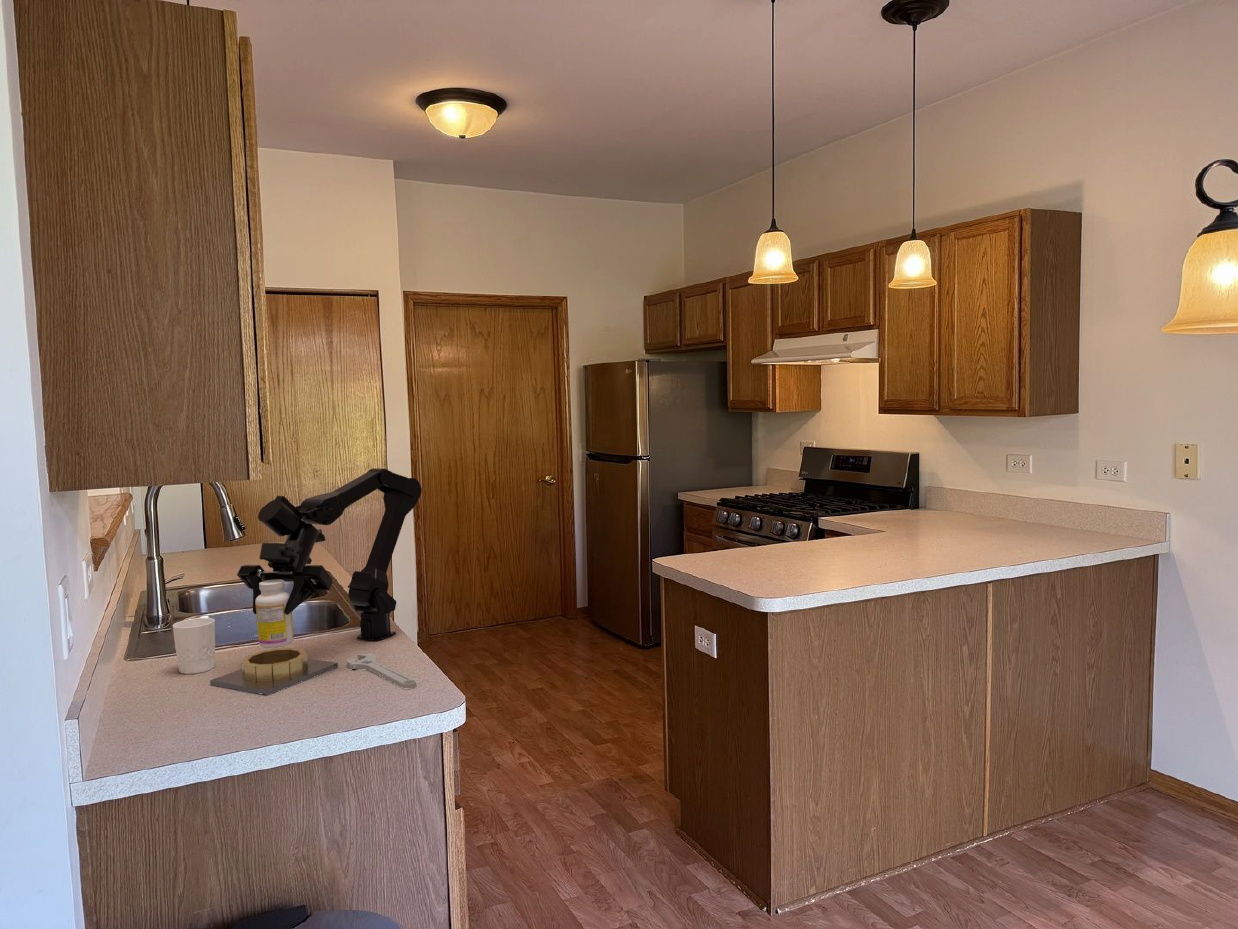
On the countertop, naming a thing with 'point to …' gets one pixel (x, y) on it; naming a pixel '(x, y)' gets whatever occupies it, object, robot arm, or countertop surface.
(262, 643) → the supplement bottle
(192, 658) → the white cup
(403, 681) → the adjustable wrench
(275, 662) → the ring collar
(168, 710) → the countertop surface
